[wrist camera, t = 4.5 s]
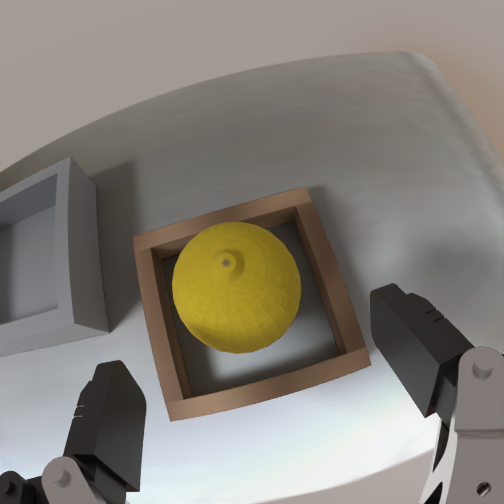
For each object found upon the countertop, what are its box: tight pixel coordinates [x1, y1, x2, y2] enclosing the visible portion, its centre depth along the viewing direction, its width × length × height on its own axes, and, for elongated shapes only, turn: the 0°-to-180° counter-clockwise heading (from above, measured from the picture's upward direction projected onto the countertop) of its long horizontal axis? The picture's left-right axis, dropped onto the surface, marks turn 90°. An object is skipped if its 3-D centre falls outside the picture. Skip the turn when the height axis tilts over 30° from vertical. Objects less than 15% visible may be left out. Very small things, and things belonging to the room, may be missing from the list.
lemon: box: [172, 222, 301, 354], centre depth 14 cm, size 6×6×8 cm
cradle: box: [132, 187, 371, 422], centre depth 17 cm, size 10×10×2 cm
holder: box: [0, 156, 110, 357], centre depth 17 cm, size 11×11×4 cm
